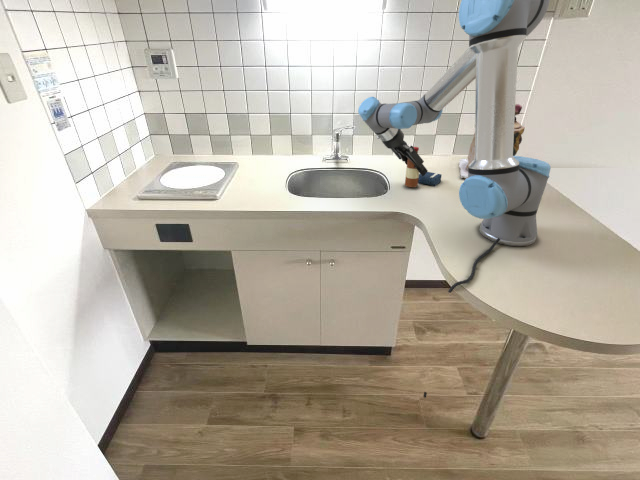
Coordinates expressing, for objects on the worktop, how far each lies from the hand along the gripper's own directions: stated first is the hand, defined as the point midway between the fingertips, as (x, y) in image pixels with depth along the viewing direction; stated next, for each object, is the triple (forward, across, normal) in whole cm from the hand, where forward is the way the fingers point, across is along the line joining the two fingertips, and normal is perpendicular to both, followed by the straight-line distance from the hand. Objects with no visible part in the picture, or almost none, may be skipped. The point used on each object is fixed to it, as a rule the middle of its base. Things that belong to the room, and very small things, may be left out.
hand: (419, 171), depth 139 cm
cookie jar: (+30, +4, +22) cm, 37 cm away
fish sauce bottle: (+1, 0, -6) cm, 6 cm away
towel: (+8, -2, 0) cm, 8 cm away
